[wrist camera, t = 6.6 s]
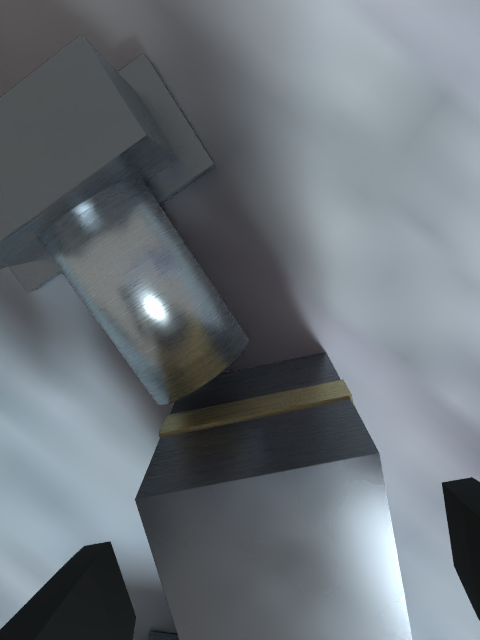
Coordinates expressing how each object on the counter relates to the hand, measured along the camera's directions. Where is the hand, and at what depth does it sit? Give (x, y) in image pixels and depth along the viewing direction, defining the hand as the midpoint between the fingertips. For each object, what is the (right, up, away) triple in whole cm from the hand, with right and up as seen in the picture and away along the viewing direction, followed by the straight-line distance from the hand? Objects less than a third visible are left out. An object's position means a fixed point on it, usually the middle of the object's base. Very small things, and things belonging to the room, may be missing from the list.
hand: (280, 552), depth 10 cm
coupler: (0, +1, +5) cm, 5 cm away
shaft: (-4, +7, +4) cm, 9 cm away
